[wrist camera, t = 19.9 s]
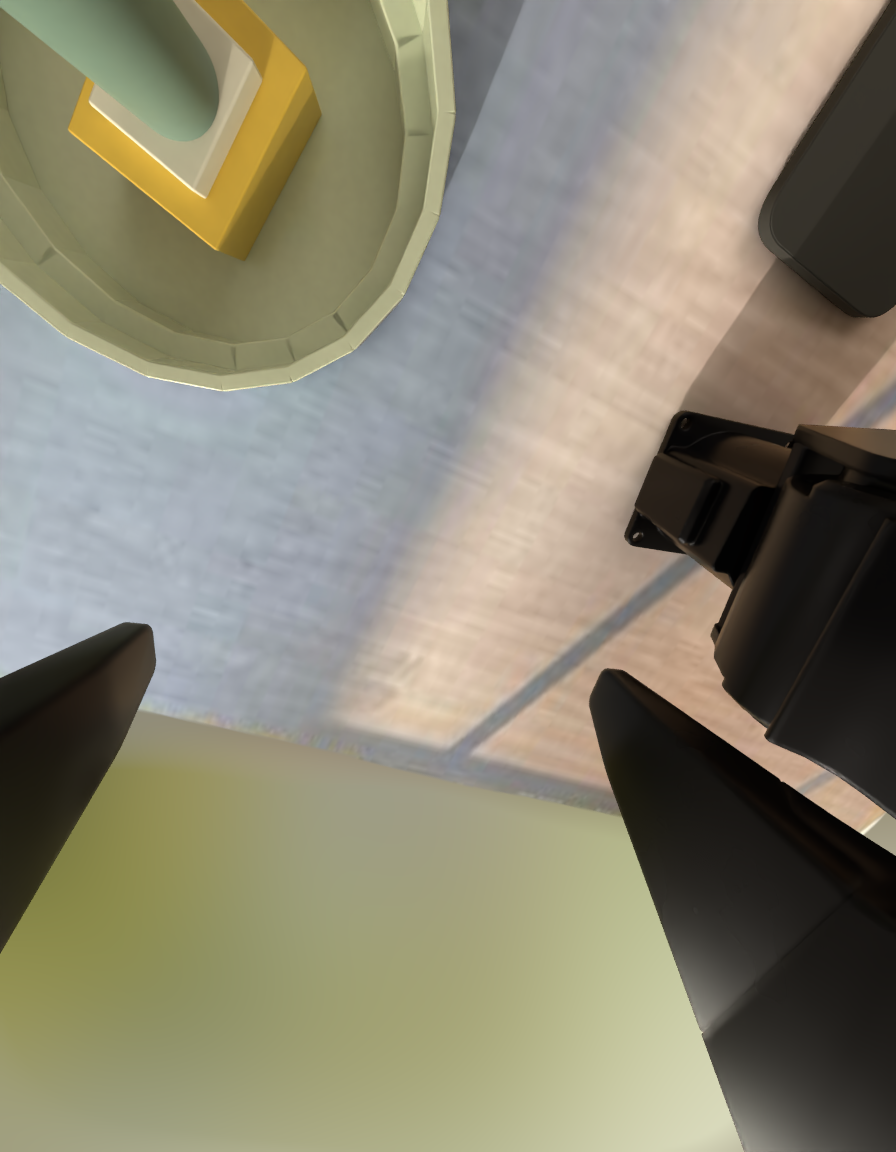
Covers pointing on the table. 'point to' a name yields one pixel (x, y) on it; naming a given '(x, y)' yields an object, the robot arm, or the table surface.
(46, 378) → the table surface
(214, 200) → the sponge wand
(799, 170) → the phone
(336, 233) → the bowl
